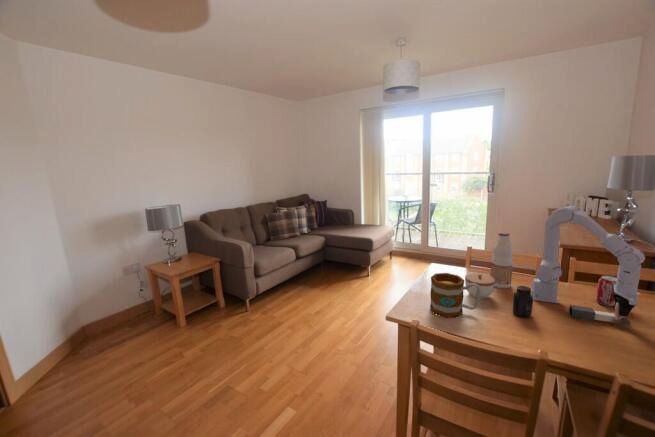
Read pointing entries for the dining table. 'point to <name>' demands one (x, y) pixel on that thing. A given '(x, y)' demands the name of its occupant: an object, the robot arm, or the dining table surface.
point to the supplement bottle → (523, 302)
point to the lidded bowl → (480, 284)
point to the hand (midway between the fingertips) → (621, 313)
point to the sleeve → (582, 313)
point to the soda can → (606, 290)
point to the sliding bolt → (608, 315)
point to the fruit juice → (502, 261)
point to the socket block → (621, 322)
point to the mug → (449, 295)
